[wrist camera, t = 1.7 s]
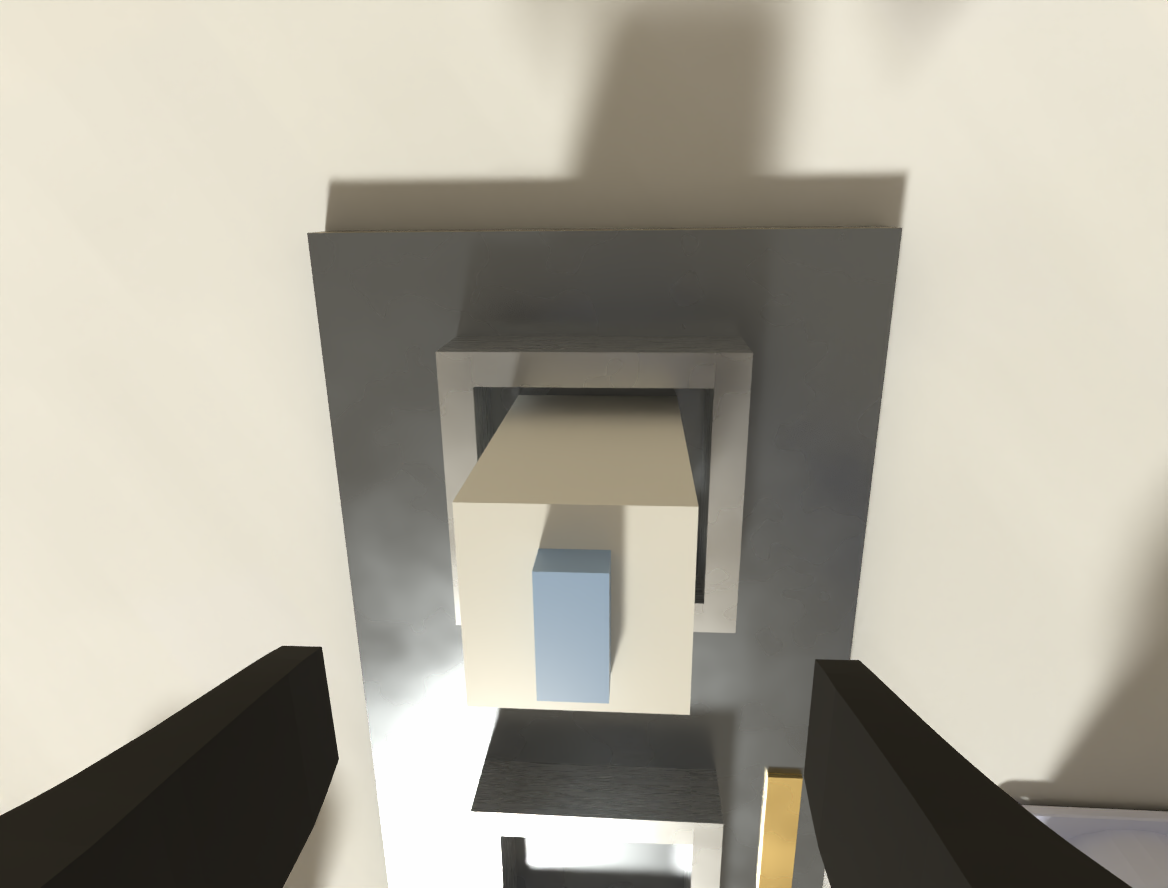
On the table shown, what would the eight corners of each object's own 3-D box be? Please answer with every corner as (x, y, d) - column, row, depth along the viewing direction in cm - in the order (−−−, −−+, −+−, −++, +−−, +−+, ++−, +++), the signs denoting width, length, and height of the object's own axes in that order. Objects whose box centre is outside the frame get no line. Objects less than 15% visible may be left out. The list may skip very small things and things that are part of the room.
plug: (676, 396, 18) (702, 527, 11) (672, 541, 20) (693, 746, 12) (518, 394, 19) (439, 522, 11) (523, 537, 20) (456, 736, 12)
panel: (887, 227, 18) (935, 231, 15) (799, 993, 26) (819, 1091, 23) (323, 231, 19) (267, 236, 16) (410, 969, 27) (383, 1060, 24)
